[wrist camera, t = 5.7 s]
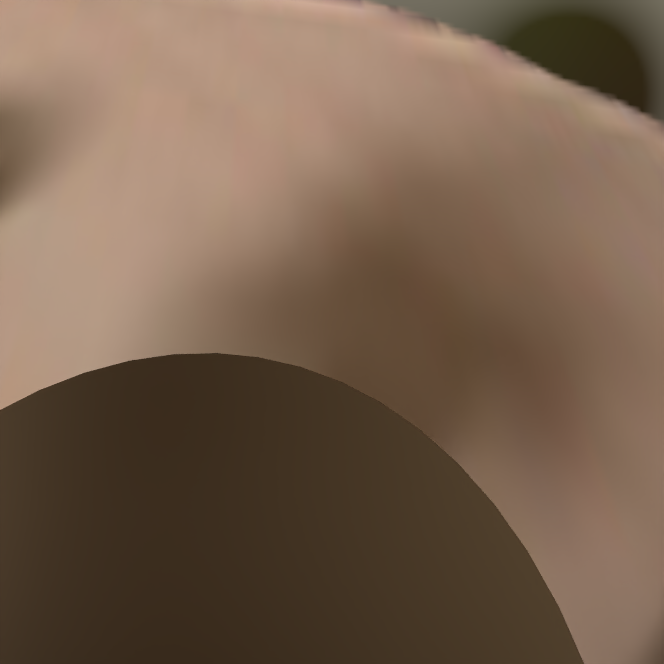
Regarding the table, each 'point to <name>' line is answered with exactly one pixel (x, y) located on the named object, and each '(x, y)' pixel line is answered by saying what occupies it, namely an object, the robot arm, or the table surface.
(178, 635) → the walnut post
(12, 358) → the table surface
